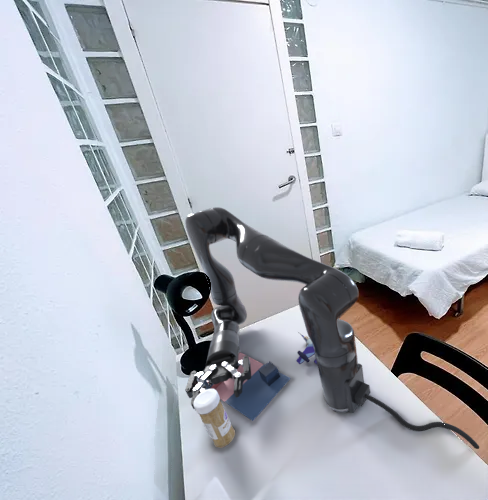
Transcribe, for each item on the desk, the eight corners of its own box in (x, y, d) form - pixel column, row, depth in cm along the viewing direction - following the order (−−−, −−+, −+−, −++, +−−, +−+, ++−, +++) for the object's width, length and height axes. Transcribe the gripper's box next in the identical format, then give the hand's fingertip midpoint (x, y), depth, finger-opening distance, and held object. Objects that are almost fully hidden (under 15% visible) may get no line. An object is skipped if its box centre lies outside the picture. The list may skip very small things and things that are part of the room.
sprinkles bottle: (237, 440, 61) (218, 399, 55) (216, 454, 59) (194, 412, 53) (233, 423, 64) (215, 383, 59) (212, 436, 62) (191, 395, 57)
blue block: (280, 376, 74) (277, 367, 73) (268, 386, 72) (265, 376, 70) (272, 370, 77) (269, 360, 75) (261, 379, 74) (258, 369, 73)
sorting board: (291, 379, 74) (291, 378, 74) (253, 422, 64) (252, 421, 64) (240, 353, 85) (240, 352, 84) (201, 387, 75) (200, 385, 75)
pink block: (223, 381, 75) (219, 371, 73) (211, 392, 72) (207, 382, 71) (215, 376, 77) (211, 367, 75) (203, 386, 74) (199, 377, 73)
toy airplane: (297, 336, 88) (295, 328, 87) (340, 336, 86) (339, 327, 85) (285, 371, 77) (282, 361, 75) (335, 371, 75) (333, 361, 73)
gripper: (191, 348, 73) (175, 401, 58) (247, 332, 76) (245, 379, 62) (200, 368, 76) (188, 423, 62) (254, 352, 79) (253, 401, 65)
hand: (216, 401), depth 62 cm, fingers open, 8 cm apart
